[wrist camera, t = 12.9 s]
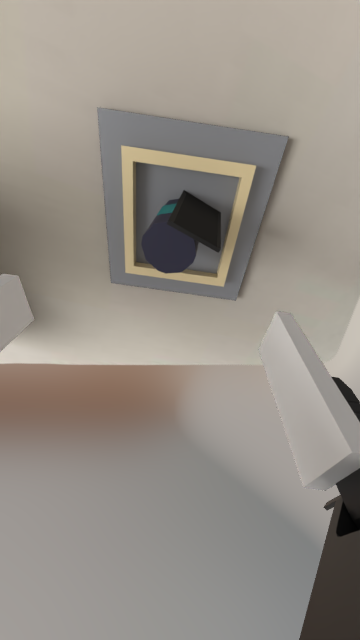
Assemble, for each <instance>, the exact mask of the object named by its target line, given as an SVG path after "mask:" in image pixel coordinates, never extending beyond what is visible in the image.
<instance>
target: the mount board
mask: <svg viewBox="0 0 360 640" xmlns="http://www.w3.org/2000/svg"><path fill="white" fill-rule="evenodd" d="M97 111H98V123H99V136H100V149H101V162H102V174H103V187H104V200H105V212H106V225H107V238H108V251H109V263H110V276H111V283H116V284H123V285H130V286H137V287H144V288H151V289H158V290H165V291H172V292H179V293H186V294H193V295H200V296H207V297H214V298H221V299H228V300H235V301H236V299H237V296H238V293H239V290H240V286H241V283H242V280H243V277H244V274H245V271H246V268H247V265H248V262H249V258H250V255H251V252H252V249H253V246H254V243H255V240H256V237H257V234H258V230H259V227H260V224H261V221H262V218H263V215H264V212H265V209H266V206H267V203H268V199H269V196H270V193H271V190H272V187H273V184H274V181H275V178H276V175H277V171H278V168H279V165H280V162H281V159H282V156H283V153H284V150H285V147H286V144H287V140H288V136H281V135H275V134H268V133H262V132H255V131H248V130H242V129H235V128H229V127H222V126H216V125H209V124H203V123H196V122H189V121H183V120H176V119H170V118H163V117H157V116H150V115H144V114H137V113H130V112H124V111H117V110H111V109H104V108H98V107H97ZM183 190H185V191H186V192H188V193H190V194H191V195H193V196H195V197H196V198H198V199H200V200H201V201H203V202H204V203H206V204H208V205H209V206H211V207H213V208H214V209H216V210H218V211H219V212H221V250H220V251H219V253H218V252H216V251H214V250H212V249H211V248H209V247H207V246H205V245H203V244H202V243H200V242H199V243H198V248H197V253H196V257H195V259H194V262H193V263H192V264H191V265H190V266H189V267H187V268H186V269H185V270H184V271H183V272H181V273H167V274H166V273H163V272H160V271H158V270H157V269H155V268H154V267H153V266H152V265H151V264H150V263H149V262H148V261H146V259H145V256H144V252H143V249H142V246H141V242H142V237H143V235H144V233H145V232H146V230H147V229H148V227H149V226H150V224H151V223H152V221H153V220H154V219H155V217H156V216H157V214H158V212H159V211H160V210H161V208H162V207H163V206H164V205H165V204H166V203H167V202H168V201H169V200H174V199H179V198H180V196H181V194H182V192H183Z"/></svg>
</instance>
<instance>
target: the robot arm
mask: <svg viewBox="0 0 360 640" xmlns="http://www.w3.org/2000/svg"><path fill="white" fill-rule="evenodd" d="M33 320H34V317H33V315H32V312H31V309H30V306H29V303H28V301H27V298H26V295H25V292H24V289H23V287H22V284H21V281H20V278H19V276H18V275H10V274H2V275H0V352H1V351H2V350H3V349H4V348H5V347H6V346H7V345H8V344H9V343H10V342H11V341H12V340H13V339H14V338H15V337H16V336H18V335H19V334H20V333H21V332H22V331H23V330H24V329H25V328H26V327H27V326H28V325H29V324H30V323H31V322H32V321H33ZM258 350H259V354H260V357H261V360H262V363H263V366H264V369H265V372H266V375H267V378H268V381H269V384H270V387H271V390H272V393H273V396H274V399H275V402H276V405H277V409H278V412H279V414H280V418H281V420H282V424H283V427H284V430H285V433H286V436H287V439H288V442H289V445H290V448H291V451H292V454H293V457H294V460H295V464H296V466H297V469H298V472H299V476H300V479H301V482H302V485H303V487H304V488H309V489H318V490H325V491H326V490H327V489H329V488H331V487H332V486H334V485H337V488H338V490H339V492H340V494H341V495H339V496H338V497H336V498H334V499H332V500H330V501H329V502H327V503H326V505H325V506H324V508H325V509H326V510H329V509H331V508H333V507H334V510H333V514H332V517H331V521H330V525H329V529H328V532H327V536H326V540H325V544H324V548H323V551H322V555H321V559H320V563H319V567H318V570H317V574H316V578H315V582H314V586H313V589H312V593H311V597H310V601H309V605H308V609H307V612H306V616H305V620H304V624H303V627H302V631H301V635H300V638H299V640H360V402H359V400H358V399H357V397H356V396H355V394H354V393H353V391H352V390H351V389H350V388H349V387H348V386H347V385H346V384H345V383H344V382H343V381H342V380H340V379H339V378H336V377H331V376H330V374H329V373H328V371H327V369H326V368H325V366H324V365H323V363H322V361H321V360H320V358H319V357H318V355H317V353H316V352H315V350H314V349H313V347H312V346H311V344H310V342H309V341H308V339H307V338H306V336H305V334H304V333H303V331H302V330H301V328H300V326H299V325H298V323H297V322H296V320H295V319H294V317H293V315H292V314H291V313H287V312H280V311H276V313H275V315H274V317H273V319H272V321H271V323H270V326H269V328H268V330H267V332H266V334H265V336H264V338H263V341H262V343H261V345H260V347H259V349H258Z"/></svg>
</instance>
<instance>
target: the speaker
mask: <svg viewBox="0 0 360 640" xmlns="http://www.w3.org/2000/svg"><path fill="white" fill-rule="evenodd" d="M199 242H200V243H202V244H203V245H205V246H207V247H209V248H211V249H212V250H214V251H216V252H218V253H219V251H220V250H221V212H219V211H218V210H216V209H214V208H213V207H211V206H209V205H208V204H206V203H204V202H203V201H201V200H200V199H198V198H196V197H195V196H193V195H191V194H190V193H188V192H186V191H185V190H183V192H182V194H181V196H180V198H179V199H174V200H169V201H168V202H167V203H166V204H165V205H164V206H163V207H162V208H161V210H160V211H159V212H158V214H157V216H156V217H155V219H154V220H153V221H152V223H151V224H150V226H149V227H148V229H147V230H146V232H145V233H144V235H143V237H142V242H141V246H142V249H143V252H144V256H145V259H146V261H148V262H149V263H150V264H151V265H152V266H153V267H154V268H155V269H157V270H158V271H160V272H163V273H166V274H167V273H181V272H183V271H184V270H185V269H186V268H187V267H189V266H190V265H191V264H192V263H193V262H194V259H195V257H196V253H197V248H198V243H199Z"/></svg>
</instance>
